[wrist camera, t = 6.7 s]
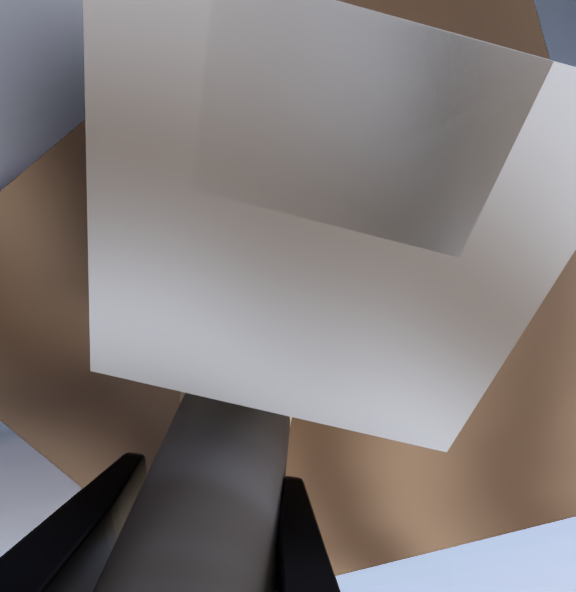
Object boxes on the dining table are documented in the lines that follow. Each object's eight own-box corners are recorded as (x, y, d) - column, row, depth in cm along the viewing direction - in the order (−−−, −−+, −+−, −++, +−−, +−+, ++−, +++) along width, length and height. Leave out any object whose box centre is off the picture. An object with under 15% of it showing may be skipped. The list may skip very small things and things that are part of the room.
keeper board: (227, 580, 19) (201, 717, 15) (-112, 286, 12) (-343, 382, 8) (646, 467, 13) (798, 634, 9) (449, -188, 7) (682, -713, 2)
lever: (260, 592, 17) (222, 911, 10) (173, 578, 17) (78, 887, 10) (351, 219, 9) (456, 571, 2) (185, 190, 9) (-235, 452, 2)
